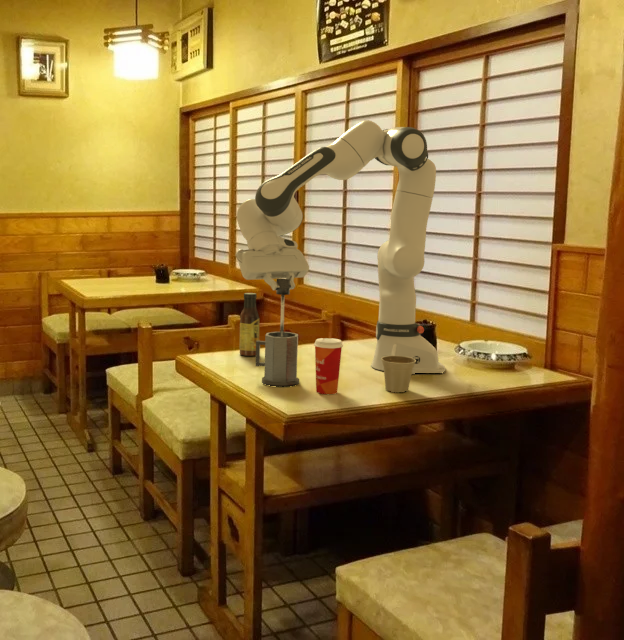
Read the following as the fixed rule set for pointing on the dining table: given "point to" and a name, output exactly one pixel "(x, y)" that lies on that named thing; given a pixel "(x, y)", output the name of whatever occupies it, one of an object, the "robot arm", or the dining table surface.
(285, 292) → the plunger
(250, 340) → the sauce bottle
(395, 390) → the flower pot
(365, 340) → the dining table surface
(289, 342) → the press pot
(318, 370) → the paper cup
